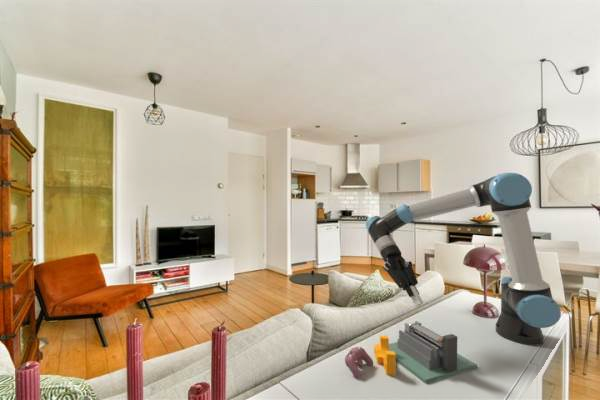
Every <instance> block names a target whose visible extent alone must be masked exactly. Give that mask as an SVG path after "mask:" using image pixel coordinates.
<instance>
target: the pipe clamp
mask: <svg viewBox="0 0 600 400" xmlns="http://www.w3.org/2000/svg"><path fill="white" fill-rule="evenodd" d="M389 340H390V339H389V336H388V335H380V334H379V344H374V345H373V346H374V349H373V350H374V353H373V354H374V357H375V359H376V364H377V365H382V366H383V368H384V371H385V373H386V374H385V375H386V376H396V362H397V361H396V354H395V352H394V351H389V344H390V342H389Z"/></svg>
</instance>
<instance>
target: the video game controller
mask: <svg viewBox="0 0 600 400" xmlns="http://www.w3.org/2000/svg"><path fill="white" fill-rule="evenodd" d="M344 362H345V363H344V364H345V365H346V367H347V368H348V369H349V371H350V372H351V373H352V374H353V375H354V377H356V378H357V379H361V378H362V373H361V370H360V368H359V367H362V366H363V364H364V363H363V362H365V363H366V364H367V365H368V366H370V367H372V366H374V361H373V359H372V357H371V356H370V355H369V354H368V353H367V350H365V349H364V348H363V347H362V346H356V347H352V348H351V349H349V351H348V353H346V355H345V357H344Z"/></svg>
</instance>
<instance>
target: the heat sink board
mask: <svg viewBox="0 0 600 400" xmlns="http://www.w3.org/2000/svg"><path fill="white" fill-rule="evenodd" d="M414 323H417V324H418V325H420V326H421V327H423V328H425V329H427V330H429V331H430V332H432V333H434V334H436V335H438V336H439V337H441V338H443V339H442V342H443V347H441V346H439V345H437V344H436V343H434V342H432V341H430V340H429V339H427V338H425V337H424V336H422V335H420V334H419V333H417V332H415V331H414V330H412V329H411V325H410V324H411V323H408V322H405V323H404V331H403V330H402V329H401V330H400V329H399V330H398V339H397V341H396V342H392V343H389V351H394V352H395V354H396V362H397V363H398V364H400V365H401V366H402V367H403V368H404V369H406V370H407V371H409V373H411V374H412V375H414V376H415V377H416V378H418V379H419V380H420V381H422V382H423V383H424V384H427V383H431V382H434V381H437V380H441V379H444V378H447V377H451V376H454V375H457V374H460V373H465V372H468V371H470V370H471V371H472V370H474V369H476V368H478V364H477V363H475V362H473V361H472V360H470V359H468V358H467V357H465V356H464V355H461V354H460V353H458V336H457V335H455V334H453V333H449V334H446V335H443V336H442V335H440V334H438V333H436V332H434V331H433V330H431V329H428V328H426V327H425V326H423V325H422V323H421V321H417V320H415V322H414Z"/></svg>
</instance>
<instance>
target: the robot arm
mask: <svg viewBox="0 0 600 400" xmlns="http://www.w3.org/2000/svg"><path fill="white" fill-rule="evenodd" d="M532 187H533V186H532V184H531V182H530V180H529V179H527V177H525V176H524V175H522V174H520V173H516V172H503V173H500V174H497V175H494V176H491V177H490V178H488V179H485V180H483V181H481V182H478V183H476V184H472V185H470V186H469V188H466V189H462V190H460V191H456V192H452V193H448V194H446V195H442V196H438V197H434V198H431V199H427V200H424V201H420V202H417V203H412V204H409V205H407V204H401V205H399V206H397V207H396V208H395V209H393V210H391V211H390V212H389V213H386V214H385V215H384V216H382V217H381V216H378V215H374V216H371V217H369V218H367V219H366V222H365V227H366V230H367V233H368V234H369V236H370V237H371V240H372V241H373V243H374V245H375V246H376V249H377V250H378V252H379V254H380V257H381V258H382V260H383V261H384V262H385V264H384V265H383V266H382V269H383V270H384V271H385V272H386V273H387V274H388V275H389V277H390V278H391V279H392V281H394V283H395V284H396V285H397V287H398V289H402V290H403V291H406V294H407V295H408V297H410V299H411V301H412V302H413V304H414V307H420V306H421V305H423V304H424V300H423V299H422V297H421V295H420V292H419V291H418V289H417V287H416V286H417V285H418V284H419V281H418V279H417V275H416V273H415V271H414V269H413V266H412V265H413V262H412V261H410V260H409V261H406V259H405V258H404V257H403V256H402V251H401V249H400V248H399V246H398V245H397V243H396V241H395V238H393V236H392V235H391V234H392V233H393V232H395V231H397V230H399V229H400V228H402V227H403V226H405V225H407V224H409V223H413V222H417V221H420V220H423V219H424V220H426V219H428V218H432V217H436V216H440V215H445V214H449V213H452V212H456V211H461V210H464V209H468V208H472V207H477V208H482V207H486V206H490V209H491V212H492V214H494V215H495V216H497V218H498V223H499V227H500V232H501V237H502V240H503V244H504V249H505V254H506V257H507V262H508V267H509V272H510V276H503V277H502V278H501V283H500V285H501V286H500V288H501V290H500V292H501V293H500V297H501V299H500V314H499V316H498V318H497V321H496V323H495V333H497V335H499V336H501V337H502V338H505V339H507V340H509V341H512V342H515V343H518V344H523V345H524V344H525V345H529V344H539V345H542V344H544V334H543V331H542V329H543V328H544V329H545V328H550V327H553V326H555V324H557V322H559V320H561V317H562V311H561V308H560V305H559V304H558V302H557V301H556V300H554V298H553V294H552V290H551V286H550V284H549V283H548V282H546V281H545V280H543V276H542V273H541V268H540V263H539V259H538V255H537V251H536V247H535V242H534V237H533V233H532V229H531V224H530V221H529V220H530V219H529V216H528V212H529V211H530V210H531V209H532V204H531V200H530V198H531V195H532V191H533V188H532Z"/></svg>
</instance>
